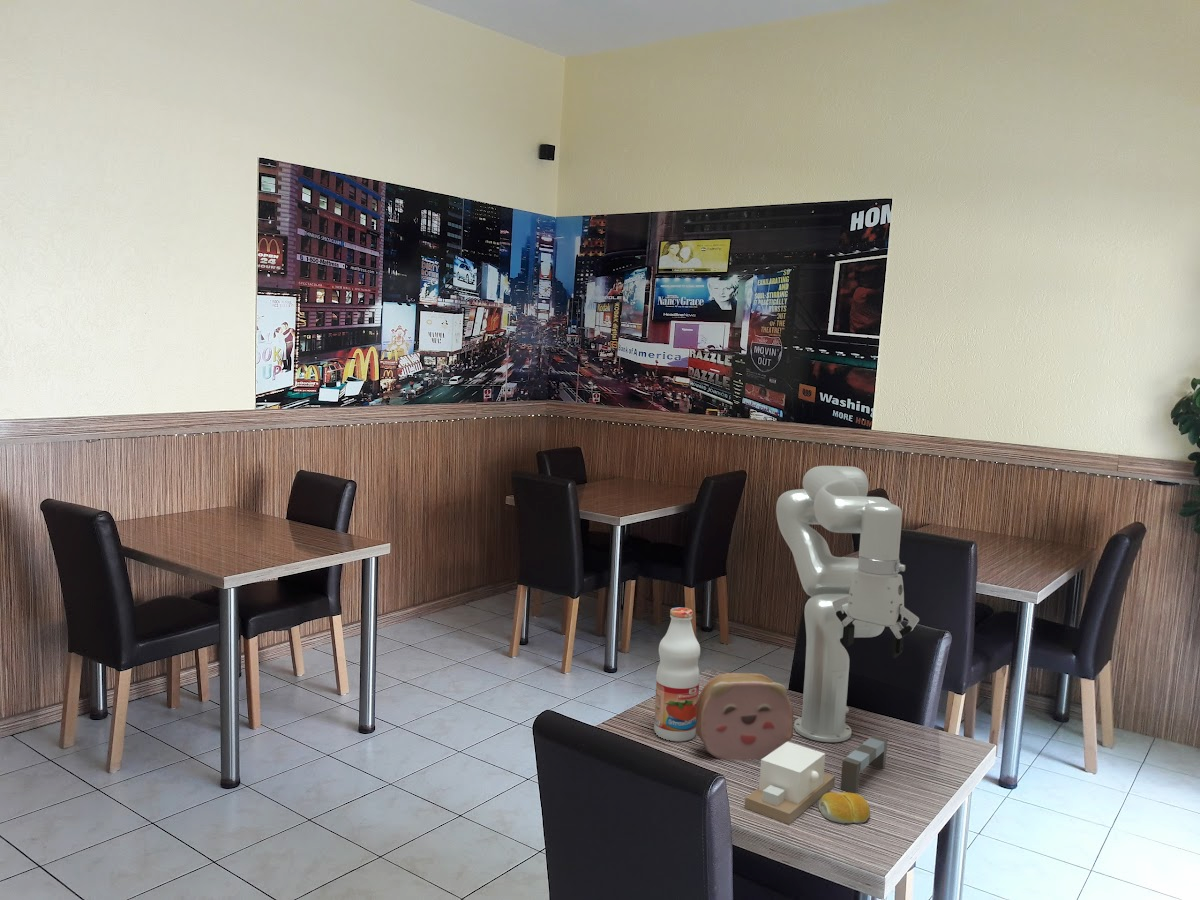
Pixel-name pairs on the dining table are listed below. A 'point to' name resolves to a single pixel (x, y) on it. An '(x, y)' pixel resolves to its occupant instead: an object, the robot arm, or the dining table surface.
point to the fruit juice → (677, 679)
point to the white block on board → (789, 782)
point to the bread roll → (844, 807)
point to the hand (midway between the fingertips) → (871, 650)
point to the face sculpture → (743, 716)
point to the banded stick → (863, 762)
